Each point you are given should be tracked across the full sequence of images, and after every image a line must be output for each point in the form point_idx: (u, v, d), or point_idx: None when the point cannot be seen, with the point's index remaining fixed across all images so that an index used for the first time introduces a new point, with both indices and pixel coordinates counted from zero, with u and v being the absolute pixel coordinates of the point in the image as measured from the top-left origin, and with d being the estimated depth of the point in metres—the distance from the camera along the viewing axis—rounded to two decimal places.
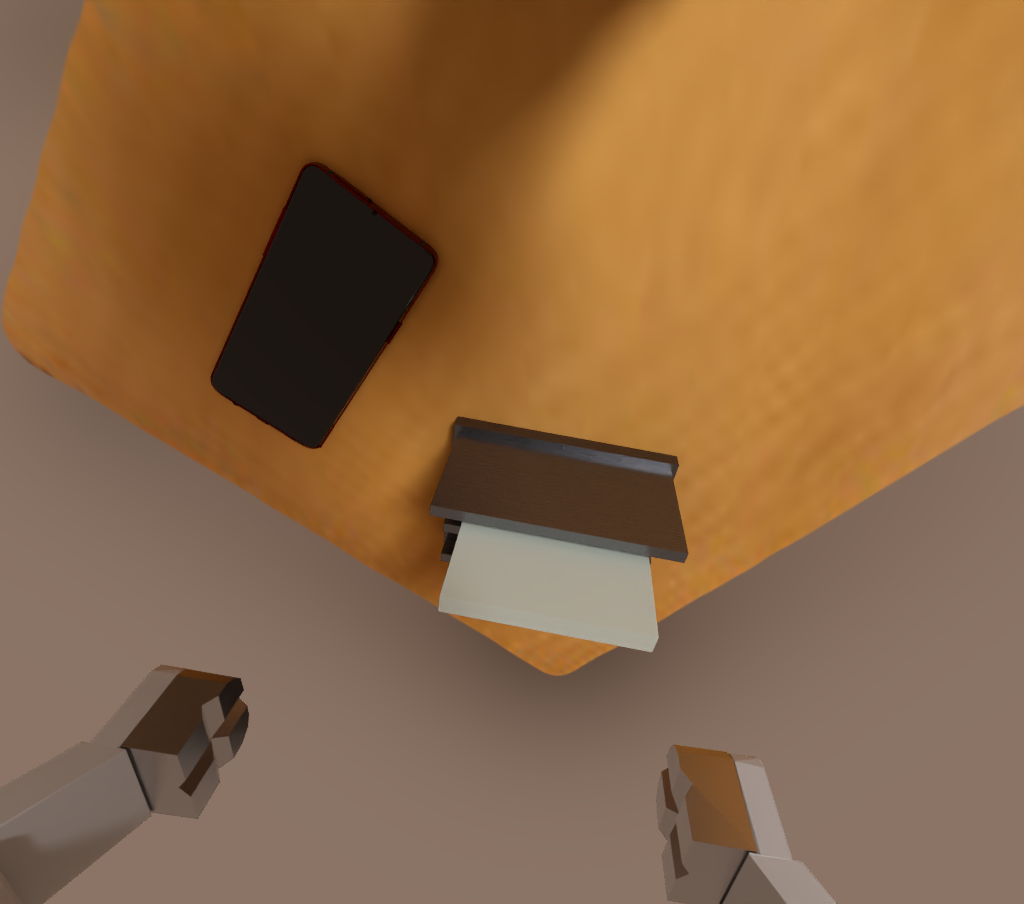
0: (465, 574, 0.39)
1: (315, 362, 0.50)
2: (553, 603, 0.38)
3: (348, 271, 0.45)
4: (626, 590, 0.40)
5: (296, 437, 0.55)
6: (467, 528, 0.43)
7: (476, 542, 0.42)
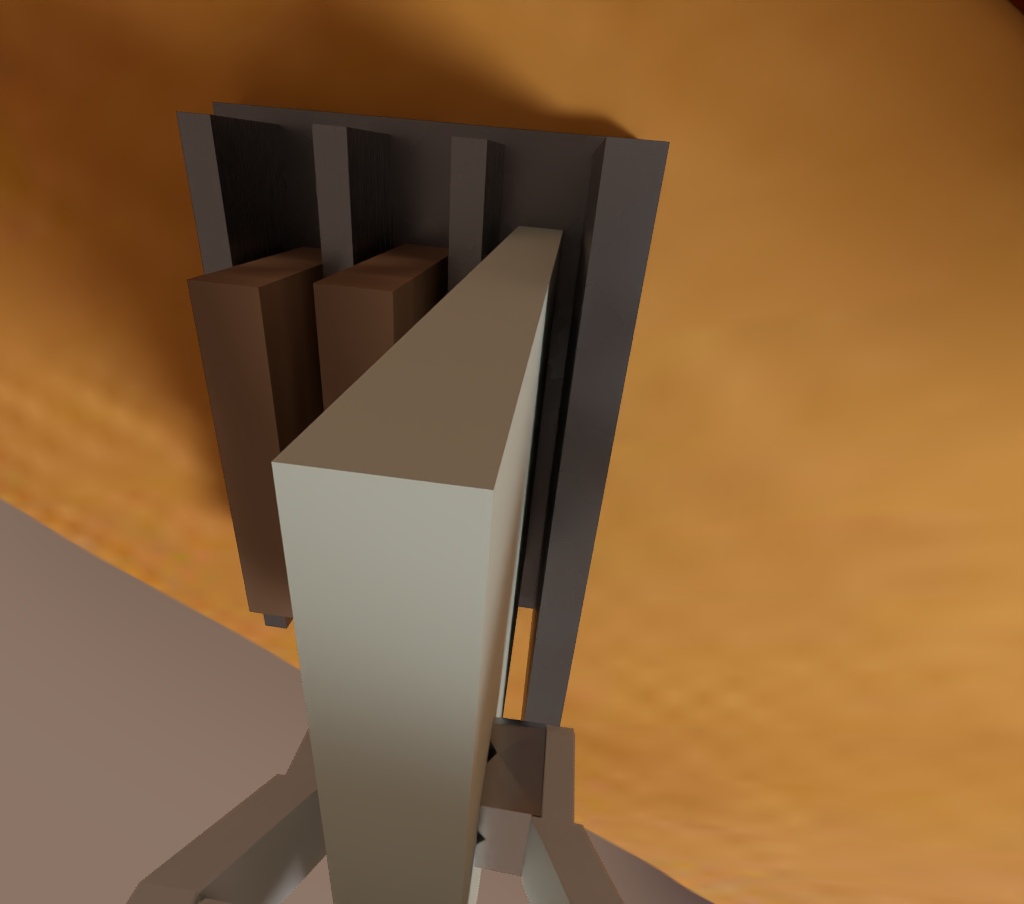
0: (513, 483, 0.06)
1: None
2: (471, 875, 0.09)
3: None
4: None
5: None
6: (544, 319, 0.10)
7: (533, 394, 0.10)
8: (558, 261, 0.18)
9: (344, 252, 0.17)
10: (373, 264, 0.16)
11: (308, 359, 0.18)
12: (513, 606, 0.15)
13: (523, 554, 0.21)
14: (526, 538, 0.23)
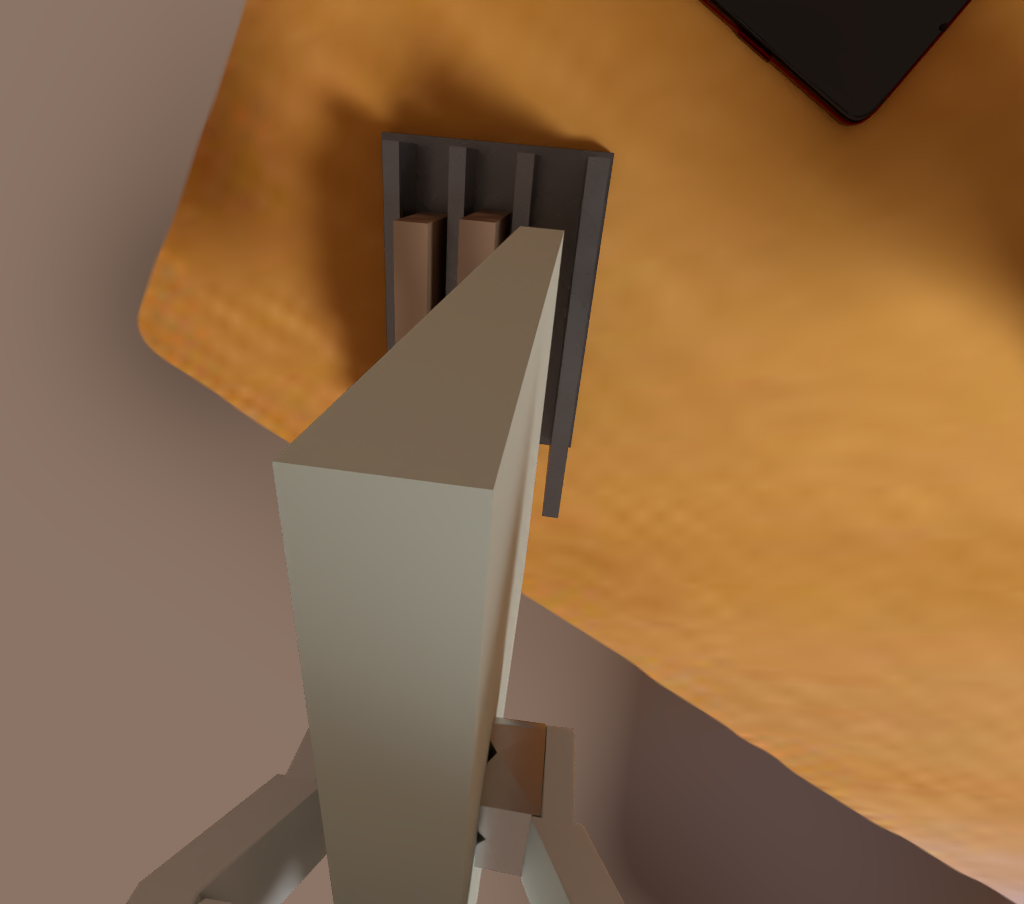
0: (513, 483, 0.06)
1: None
2: (471, 875, 0.09)
3: None
4: (479, 873, 0.13)
5: None
6: (544, 320, 0.10)
7: (533, 394, 0.10)
8: (559, 261, 0.18)
9: (459, 210, 0.33)
10: (476, 215, 0.33)
11: (436, 268, 0.35)
12: None
13: None
14: None
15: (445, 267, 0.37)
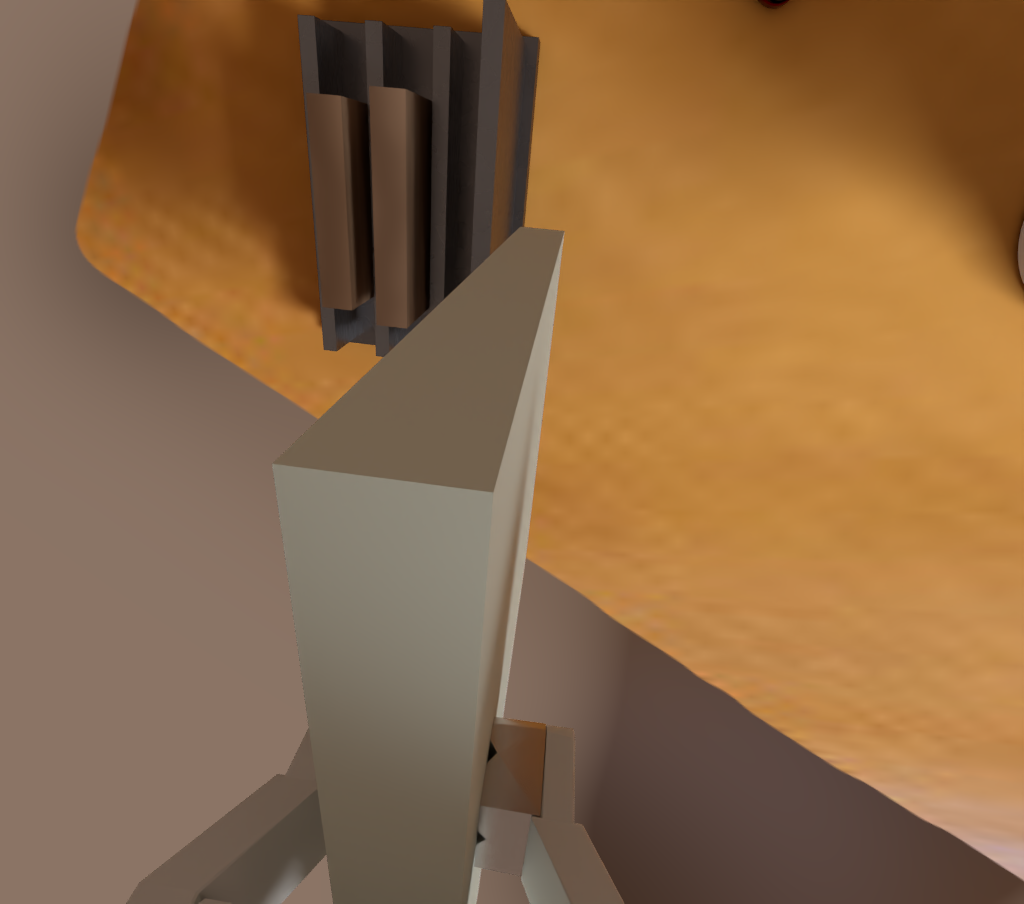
0: (513, 485, 0.06)
1: None
2: (471, 876, 0.09)
3: None
4: None
5: None
6: (544, 320, 0.10)
7: (533, 395, 0.10)
8: (559, 262, 0.18)
9: None
10: None
11: (358, 153, 0.34)
12: None
13: None
14: None
15: None
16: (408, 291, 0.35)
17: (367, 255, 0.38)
